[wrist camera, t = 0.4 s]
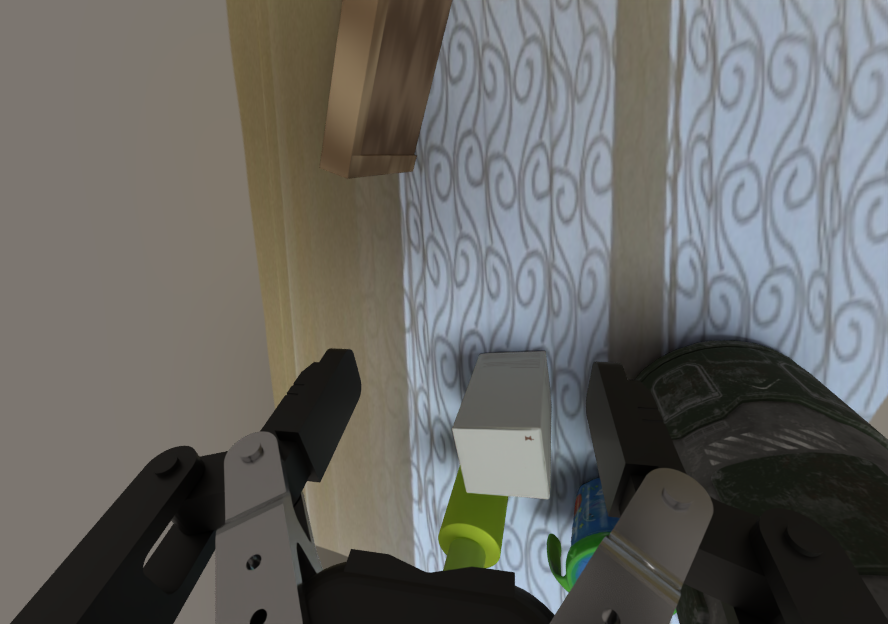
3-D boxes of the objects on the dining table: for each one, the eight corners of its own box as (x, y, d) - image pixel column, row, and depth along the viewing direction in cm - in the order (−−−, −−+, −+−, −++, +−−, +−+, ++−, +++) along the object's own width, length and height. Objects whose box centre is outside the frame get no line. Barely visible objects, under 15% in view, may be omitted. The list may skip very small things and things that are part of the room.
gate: (453, -103, 26) (381, -287, 15) (479, -96, 26) (426, -277, 15) (393, 164, 34) (319, 167, 23) (412, 171, 34) (347, 178, 23)
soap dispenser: (461, 462, 48) (406, 642, 30) (472, 421, 45) (418, 596, 27) (505, 477, 47) (475, 674, 29) (519, 437, 44) (496, 629, 26)
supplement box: (478, 351, 41) (449, 425, 30) (547, 349, 39) (543, 428, 27) (487, 407, 43) (464, 494, 32) (552, 408, 41) (551, 502, 30)
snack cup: (663, 448, 39) (695, 535, 30) (698, 519, 41) (738, 620, 32) (529, 478, 46) (523, 557, 37) (566, 538, 48) (568, 626, 39)
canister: (785, 480, 37) (1259, 1144, 12) (614, 457, 41) (705, 912, 16) (836, 339, 31) (1960, 1070, 6) (630, 330, 35) (810, 740, 11)
